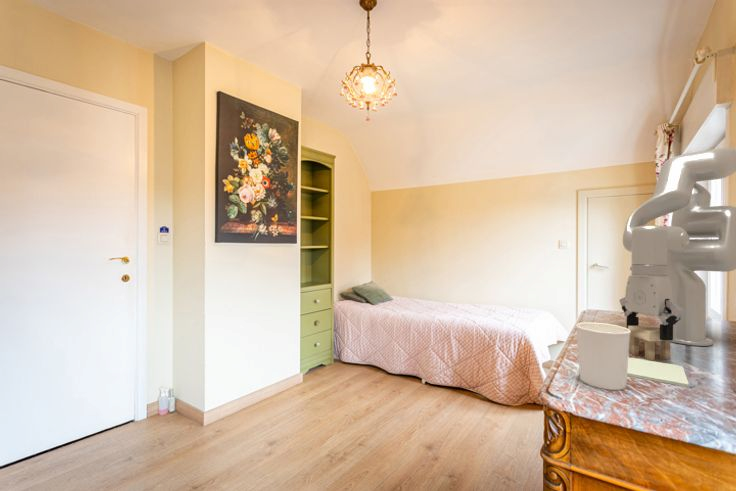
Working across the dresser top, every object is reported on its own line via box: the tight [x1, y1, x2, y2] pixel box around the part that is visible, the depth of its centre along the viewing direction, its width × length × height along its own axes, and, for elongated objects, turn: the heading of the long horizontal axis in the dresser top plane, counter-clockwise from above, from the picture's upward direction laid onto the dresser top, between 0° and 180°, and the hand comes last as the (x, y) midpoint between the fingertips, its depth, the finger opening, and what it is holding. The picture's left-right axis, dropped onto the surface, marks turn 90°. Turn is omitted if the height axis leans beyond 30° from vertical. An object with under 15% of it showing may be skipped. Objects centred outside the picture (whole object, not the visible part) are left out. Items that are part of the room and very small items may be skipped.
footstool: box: [628, 324, 672, 361], centre depth 92 cm, size 6×6×8 cm
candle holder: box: [575, 321, 631, 391], centre depth 74 cm, size 10×10×12 cm
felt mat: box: [627, 357, 690, 388], centre depth 81 cm, size 14×12×1 cm
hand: (648, 335), depth 91 cm, fingers open, 9 cm apart
